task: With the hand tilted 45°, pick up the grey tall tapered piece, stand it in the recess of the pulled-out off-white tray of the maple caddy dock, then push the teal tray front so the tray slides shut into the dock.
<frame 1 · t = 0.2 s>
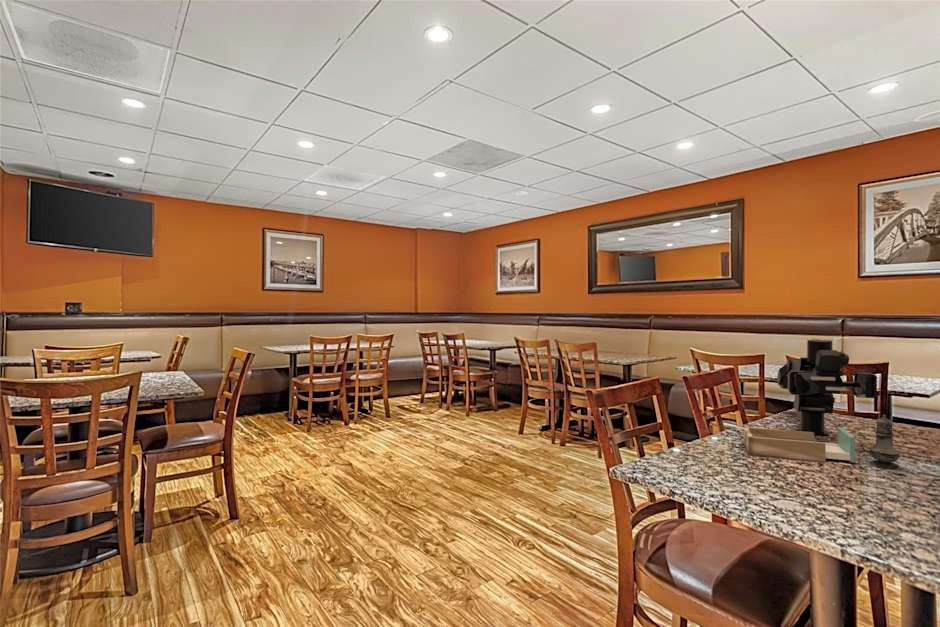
hand: (841, 391, 117), 17 cm above the table, tool horizontal, fingers open, 9 cm apart
dock: (781, 452, 123), on the table
grey tall tapered piece: (884, 466, 112), on the table
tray: (810, 441, 120), point 3 cm above the table, slide at 5.0 cm
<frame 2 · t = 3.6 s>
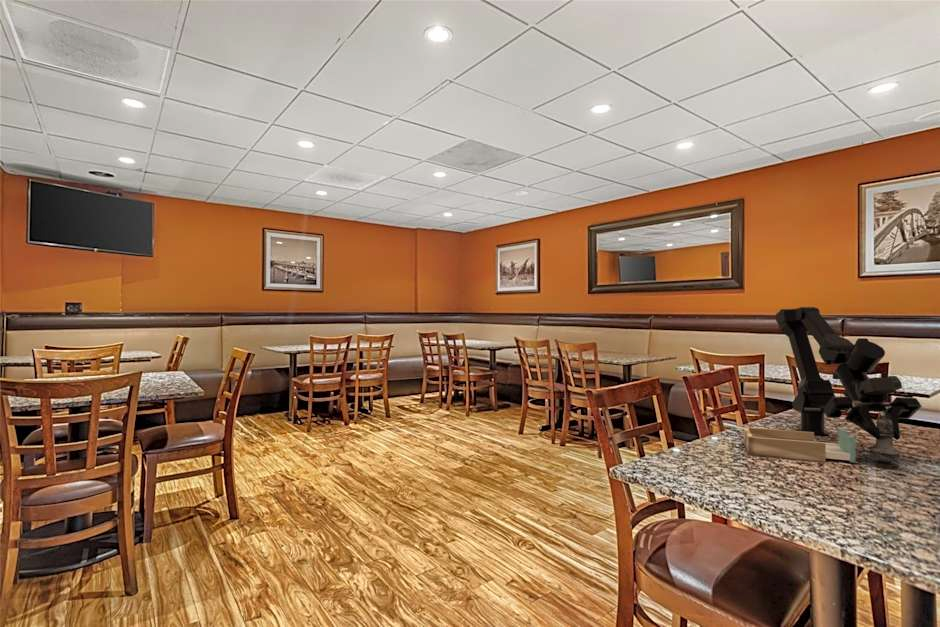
hand: (888, 438, 110), 7 cm above the table, tool tilted 45°, fingers closed on grey tall tapered piece, 3 cm apart
grey tall tapered piece: (884, 465, 112), on the table, touching gripper
everything else where it was.
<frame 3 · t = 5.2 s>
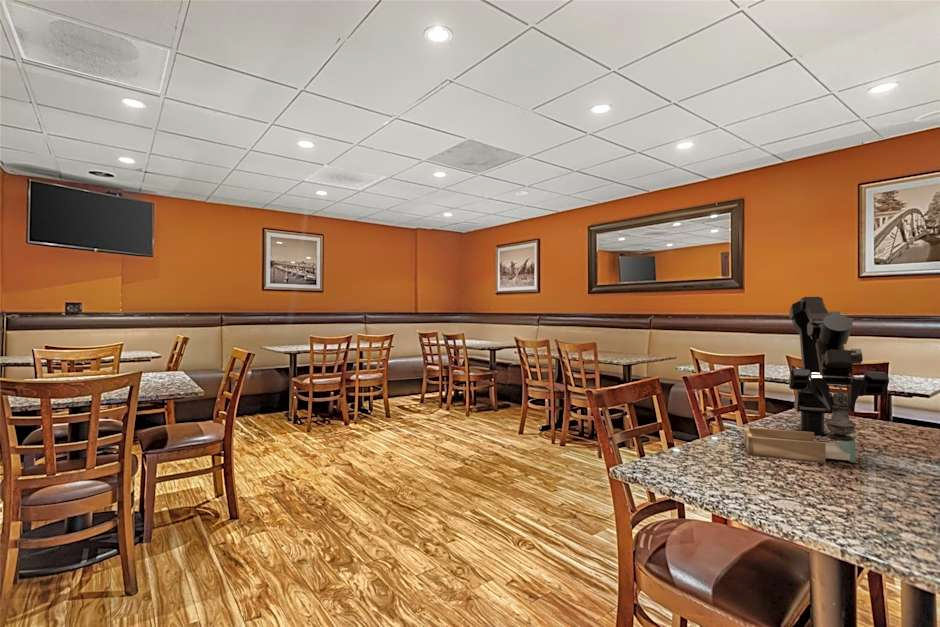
hand: (841, 410, 110), 13 cm above the table, tool tilted 45°, fingers closed on grey tall tapered piece, 4 cm apart
grey tall tapered piece: (840, 438, 111), point 6 cm above the table, touching gripper
everything else where it was.
when the fingers open (9 cm above the table, at t = 6.9 s): grey tall tapered piece stays where it is, resting on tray.
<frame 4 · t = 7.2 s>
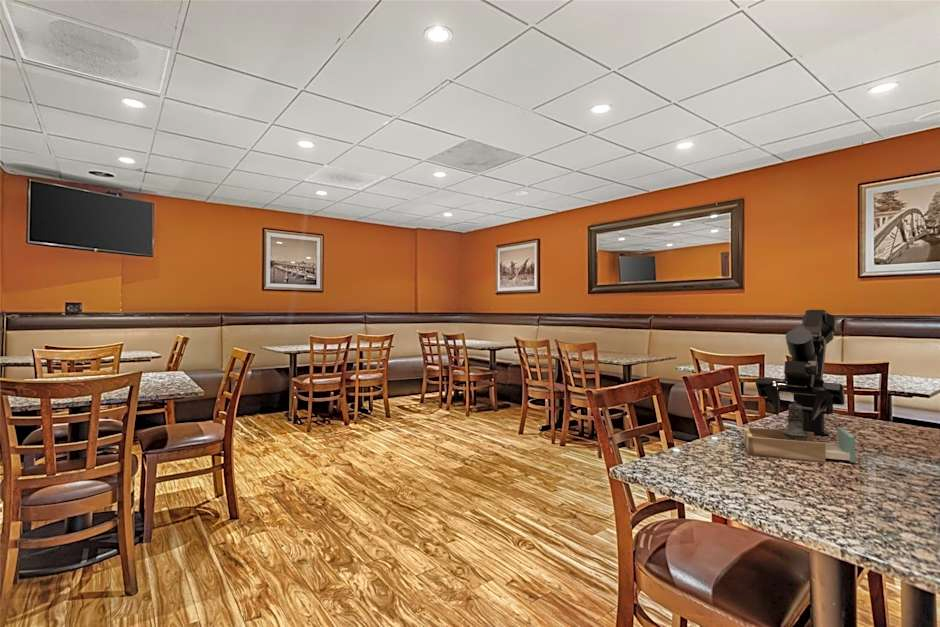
hand: (794, 417, 120), 10 cm above the table, tool tilted 45°, fingers open, 7 cm apart
grey tall tapered piece: (795, 447, 122), point 2 cm above the table, touching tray
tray: (810, 441, 120), point 3 cm above the table, slide at 4.9 cm, touching grey tall tapered piece
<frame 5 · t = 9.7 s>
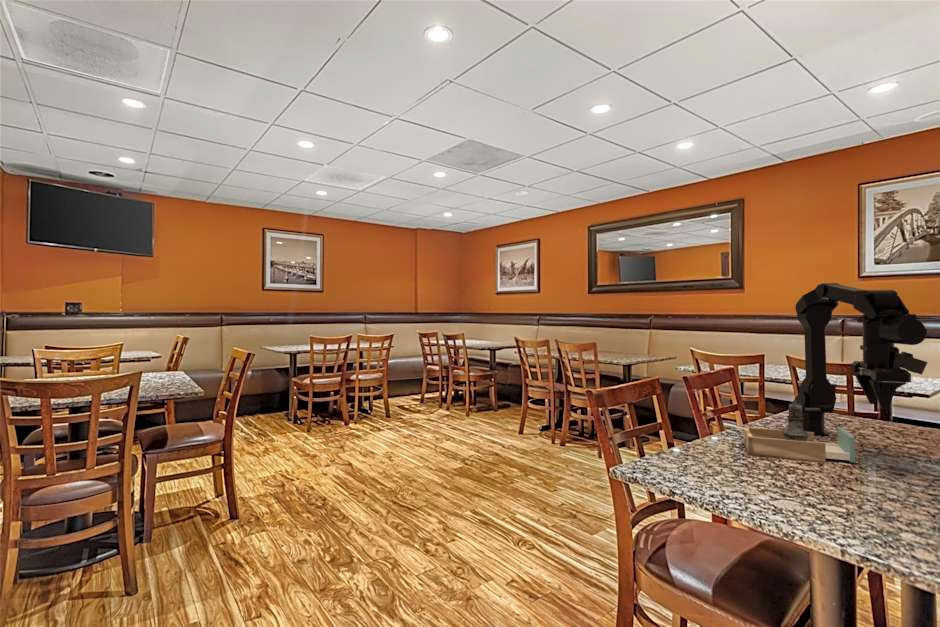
hand: (878, 406, 114), 13 cm above the table, tool pointing down, fingers open, 7 cm apart
nothing on the table moved.
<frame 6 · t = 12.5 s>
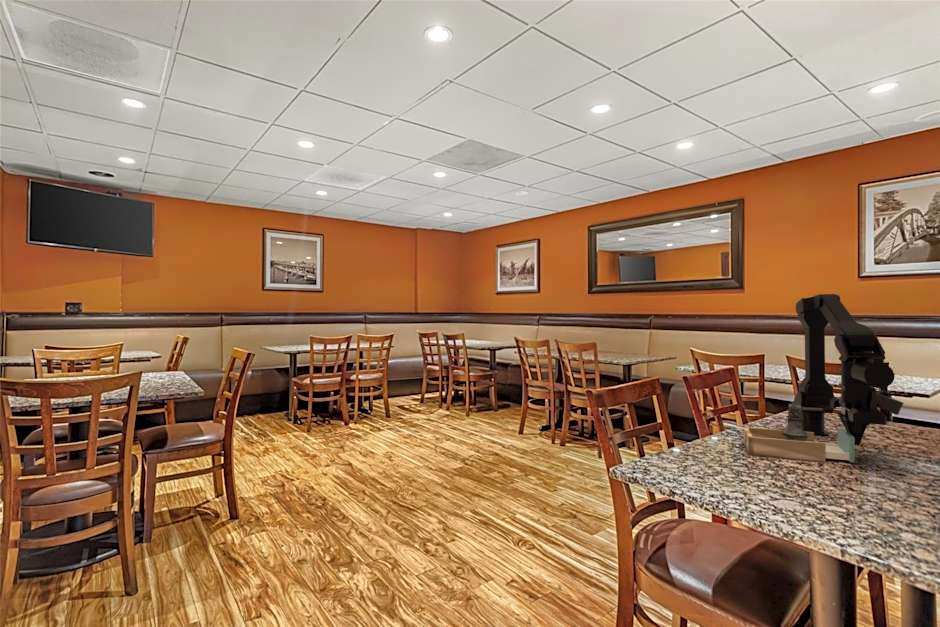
hand: (856, 444, 116), 3 cm above the table, tool pointing down, fingers closed, pressing on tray
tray: (810, 441, 120), point 3 cm above the table, slide at 4.9 cm, touching gripper, grey tall tapered piece
everything else where it was.
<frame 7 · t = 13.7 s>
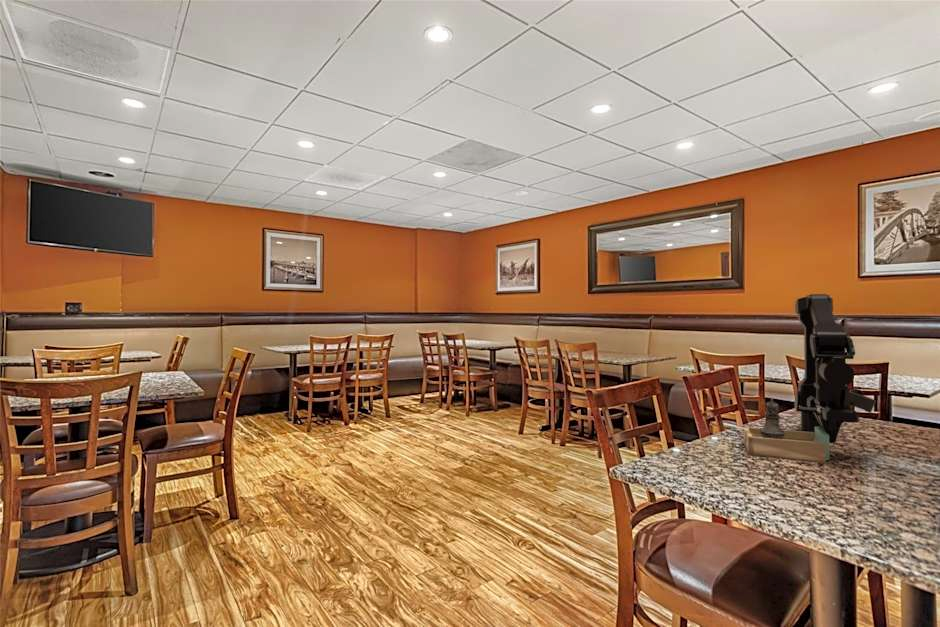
hand: (831, 442, 118), 4 cm above the table, tool pointing down, fingers closed, pressing on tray
grey tall tapered piece: (772, 445, 124), point 2 cm above the table, touching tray
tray: (787, 439, 122), point 3 cm above the table, slide at -0.1 cm, touching gripper, grey tall tapered piece
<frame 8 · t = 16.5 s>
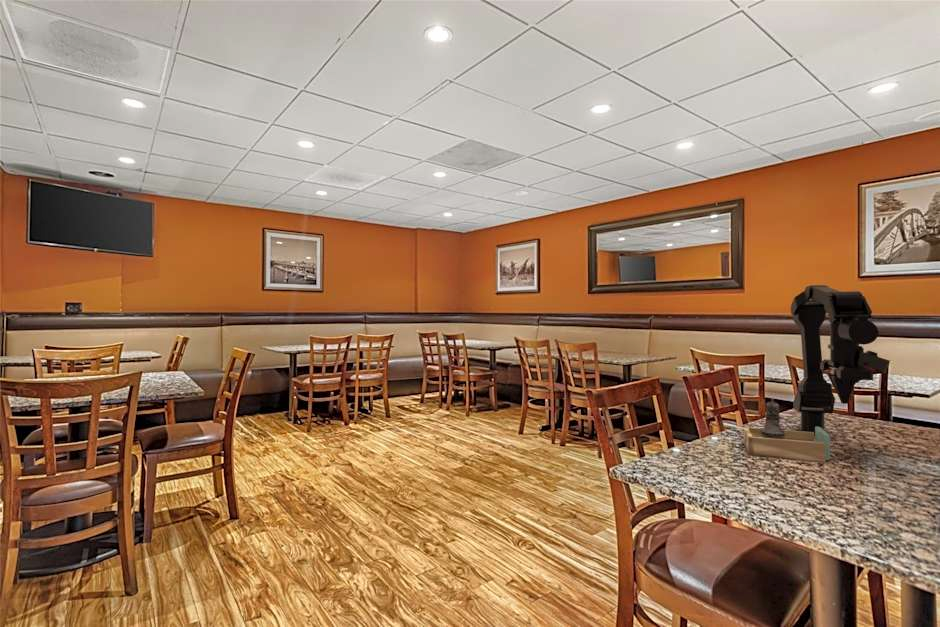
hand: (844, 403, 120), 13 cm above the table, tool pointing down, fingers closed
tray: (787, 439, 122), point 3 cm above the table, slide at 0.0 cm, touching grey tall tapered piece
everything else where it was.
at the end: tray slide at 0.0 cm; grey tall tapered piece inside the target area (1.9 cm from its centre), point 1.5 cm above the table; grey tall tapered piece tilted 0° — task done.
